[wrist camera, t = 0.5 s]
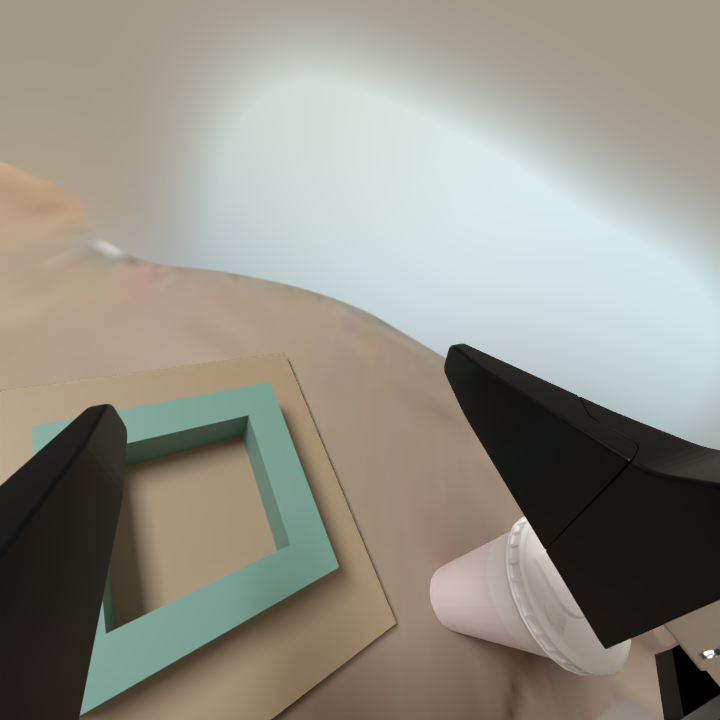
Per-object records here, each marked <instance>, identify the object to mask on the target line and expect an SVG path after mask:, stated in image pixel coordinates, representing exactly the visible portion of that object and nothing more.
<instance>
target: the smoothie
mask: <svg viewBox="0 0 720 720" xmlns="http://www.w3.org/2000/svg"><path fill="white" fill-rule="evenodd" d="M430 598H431V603H432V607H433V609H434V612H435V614H436V616H437V617H438V619H439V620H440V622H441V623H442V624H443V625H444V626H445V627H446V628H448V629H450V630H452V631H455V632H458V633H462V634H465V635H469V636H473V637H476V638H480V639H483V640H487V641H491V642H494V643H498V644H502V645H505V646H509V647H512V648H516V649H520V650H523V651H527V652H530V653H534V654H537V655H540V656H544V657H548V658H551V659H552V660H554V661H555V662H556V663H557V664H559V665H560V666H561V667H563V668H564V669H565V670H568V671H570V672H573V673H575V674H578V675H580V676H588V675H598V676H608V675H612V674H614V673H616V672H618V671H619V670H620V669H621V668H622V667H623V665H624V664H625V662H626V660H627V658H628V655H629V651H630V646H631V639H629V640H626V641H624V642H622V643H620V644H617V645H615V646H613V647H610V648H608V649H605V648H604V647H603V645H602V644H601V643H600V641H599V640H598V638H597V636H596V635H595V633H594V631H593V630H592V628H591V626H590V625H589V623H588V621H587V620H586V618H585V616H584V615H583V613H582V611H581V610H580V608H579V606H578V605H577V603H576V601H575V600H574V598H573V596H572V594H571V593H570V591H569V589H568V588H567V586H566V584H565V583H564V581H563V579H562V578H561V576H560V574H559V573H558V571H557V569H556V568H555V566H554V564H553V563H552V561H551V559H550V558H549V556H548V554H547V553H546V549H544V547H543V546H542V544H541V542H540V541H539V539H538V537H537V536H536V534H535V532H534V531H533V529H532V527H531V526H530V524H529V522H528V521H527V519H526V517H522V518H521V519H520V520H519V521H517V522H516V523H515V524H514V525H513V527H512V529H511V531H510V532H507V533H505V534H503V535H501V536H500V537H498V538H496V539H494V540H492V541H490V542H488V543H486V544H484V545H482V546H480V547H478V548H476V549H474V550H473V551H471V552H469V553H467V554H465V555H463V556H461V557H459V558H457V559H455V560H453V561H451V562H449V563H447V564H445V565H443V566H441V567H440V568H438V569H437V570H436V571H435V573H434V575H433V577H432V579H431V584H430Z"/></svg>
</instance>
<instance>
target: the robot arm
mask: <svg viewBox="0 0 720 720" xmlns="http://www.w3.org/2000/svg"><path fill="white" fill-rule="evenodd" d="M444 371H445V374H446V376H447V379H448V381H449V383H450V385H451V387H452V389H453V392H454V394H455V396H456V398H457V400H458V403H459V405H460V407H461V409H462V411H463V413H464V415H465V417H466V418H467V420H468V422H469V423H470V425H471V427H472V428H473V430H474V432H475V433H476V435H477V437H478V439H479V440H480V442H481V444H482V445H483V447H484V449H485V450H486V452H487V454H488V455H489V457H490V459H491V460H492V462H493V464H494V465H495V467H496V469H497V470H498V472H499V474H500V475H501V477H502V479H503V480H504V482H505V484H506V485H507V487H508V489H509V490H510V492H511V494H512V495H513V497H514V499H515V500H516V502H517V504H518V505H519V507H520V509H521V510H522V512H523V514H524V516H525V517H526V519H527V521H528V522H529V524H530V526H531V527H532V529H533V531H534V532H535V534H536V536H537V537H538V539H539V541H540V542H541V544H542V546H543V547H544V549H546V553H547V554H548V556H549V558H550V559H551V561H552V563H553V564H554V566H555V568H556V569H557V571H558V573H559V574H560V576H561V578H562V579H563V581H564V583H565V584H566V586H567V588H568V589H569V591H570V593H571V594H572V596H573V598H574V600H575V601H576V603H577V605H578V606H579V608H580V610H581V611H582V613H583V615H584V616H585V618H586V620H587V621H588V623H589V625H590V626H591V628H592V630H593V631H594V633H595V635H596V636H597V638H598V640H599V641H600V643H601V644H602V645H603V647H604V648H605V649H608V648H610V647H613V646H615V645H617V644H620V643H622V642H624V641H626V640H629V639H631V638H633V637H636V636H638V635H640V634H643V633H645V632H647V631H649V630H652V629H654V628H656V627H659V626H661V625H663V626H664V627H665V628H666V629H667V631H668V632H669V633H670V634H671V636H672V637H673V638H674V639H675V640H676V643H675V644H673V645H671V646H669V647H667V648H666V649H664V650H662V651H660V652H658V653H656V654H655V659H656V666H657V673H658V680H659V686H660V693H661V700H662V707H663V714H664V720H720V450H716V449H711V448H707V447H703V446H700V445H697V444H694V443H691V442H689V441H686V440H684V439H681V438H679V437H676V436H673V435H671V434H668V433H666V432H663V431H661V430H658V429H656V428H653V427H651V426H648V425H646V424H643V423H640V422H638V421H635V420H633V419H631V418H628V417H626V416H623V415H621V414H618V413H616V412H613V411H611V410H609V409H607V408H604V407H602V406H600V405H597V404H595V403H593V402H591V401H589V400H586V399H584V398H582V397H578V396H577V395H575V394H573V393H571V392H569V391H566V390H564V389H562V388H560V387H558V386H556V385H553V384H551V383H549V382H547V381H544V380H543V379H540V378H538V377H536V376H534V375H532V374H529V373H527V372H525V371H523V370H521V369H518V368H516V367H514V366H512V365H510V364H507V363H505V362H503V361H501V360H499V359H496V358H494V357H492V356H490V355H488V354H486V353H483V352H481V351H479V350H477V349H475V348H472V347H470V346H468V345H466V344H456V345H452V346H451V347H450V348H449V351H448V354H447V358H446V361H445V365H444ZM126 449H127V429H126V426H125V424H124V422H123V421H122V419H121V418H120V416H119V414H118V413H117V411H116V409H115V408H114V407H113V406H112V405H111V404H101V405H95V406H91V407H88V408H87V409H86V410H84V411H83V412H82V413H81V414H80V415H79V416H78V417H77V418H75V419H74V420H73V421H72V422H71V423H70V424H69V425H68V426H67V427H65V428H64V429H63V430H62V431H61V432H60V433H59V434H58V435H56V436H55V437H54V438H53V439H52V440H51V441H50V442H49V443H47V444H46V445H45V446H44V447H43V448H42V449H41V450H40V451H38V452H37V453H36V454H35V455H34V456H33V457H32V458H31V459H29V460H28V461H27V462H26V463H25V464H24V465H23V466H22V467H21V468H19V469H18V470H17V471H16V472H15V473H14V474H13V475H12V476H10V477H9V478H8V479H7V480H6V481H5V482H4V483H3V484H1V485H0V720H79V717H80V712H81V707H82V702H83V697H84V692H85V687H86V682H87V677H88V672H89V667H90V662H91V657H92V651H93V646H94V641H95V636H96V631H97V626H98V621H99V616H100V611H101V606H102V601H103V596H104V591H105V586H106V581H107V576H108V571H109V566H110V560H111V555H112V550H113V545H114V540H115V535H116V530H117V525H118V520H119V515H120V510H121V505H122V499H123V493H124V482H125V465H126Z"/></svg>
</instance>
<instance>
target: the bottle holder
mask: <svg viewBox="0 0 720 720" xmlns="http://www.w3.org/2000/svg"><path fill="white" fill-rule="evenodd" d="M101 404H111V405H112V406H113V407H114V408H115V409H116V411H117V413H118V414H119V416H120V418H121V419H122V421H123V422H124V424H125V426H126V429H127V449H126V465H125V482H124V493H123V499H122V505H121V510H120V515H119V520H118V525H117V530H116V535H115V540H114V545H113V550H112V555H111V560H110V566H109V571H108V576H107V581H106V586H105V591H104V596H103V601H102V606H101V611H100V616H99V621H98V626H97V631H96V636H95V641H94V646H93V651H92V657H91V662H90V667H89V672H88V677H87V682H86V687H85V692H84V697H83V702H82V707H81V712H80V717H79V720H271V719H273V718H274V717H275V716H277V715H278V714H279V713H280V712H282V711H283V710H284V709H286V708H287V707H288V706H290V705H291V704H292V703H293V702H295V701H296V700H297V699H299V698H300V697H301V696H302V695H304V694H305V693H306V692H308V691H309V690H310V689H312V688H313V687H314V686H315V685H317V684H318V683H319V682H321V681H322V680H323V679H325V678H326V677H327V676H328V675H330V674H331V673H332V672H334V671H335V670H336V669H337V668H339V667H340V666H341V665H343V664H344V663H345V662H347V661H348V660H349V659H350V658H352V657H353V656H354V655H356V654H357V653H358V652H360V651H361V650H362V649H363V648H365V647H366V646H367V645H369V644H370V643H371V642H373V641H374V640H375V639H376V638H378V637H379V636H380V635H382V634H383V633H384V632H385V631H387V630H388V629H389V628H391V627H392V626H393V625H395V624H396V621H395V619H394V616H393V614H392V611H391V609H390V606H389V604H388V602H387V599H386V597H385V594H384V592H383V590H382V587H381V585H380V582H379V580H378V577H377V575H376V573H375V570H374V568H373V565H372V563H371V560H370V558H369V556H368V553H367V551H366V548H365V546H364V543H363V541H362V539H361V536H360V534H359V531H358V529H357V526H356V524H355V522H354V519H353V517H352V514H351V512H350V509H349V507H348V505H347V502H346V500H345V497H344V495H343V493H342V490H341V488H340V485H339V483H338V480H337V478H336V476H335V473H334V471H333V468H332V466H331V463H330V461H329V459H328V456H327V454H326V451H325V449H324V446H323V444H322V442H321V439H320V437H319V434H318V432H317V429H316V427H315V425H314V422H313V420H312V417H311V415H310V412H309V410H308V408H307V405H306V403H305V400H304V398H303V395H302V393H301V391H300V388H299V386H298V383H297V381H296V379H295V376H294V374H293V371H292V369H291V366H290V364H289V362H288V359H287V357H286V354H285V352H284V353H277V354H269V355H262V356H255V357H247V358H240V359H233V360H225V361H218V362H211V363H203V364H196V365H189V366H181V367H174V368H167V369H159V370H152V371H145V372H137V373H130V374H123V375H115V376H108V377H101V378H93V379H86V380H79V381H71V382H64V383H57V384H49V385H42V386H35V387H27V388H20V389H13V390H5V391H0V485H1V484H3V483H4V482H5V481H6V480H7V479H8V478H9V477H10V476H12V475H13V474H14V473H15V472H16V471H17V470H18V469H19V468H21V467H22V466H23V465H24V464H25V463H26V462H27V461H28V460H29V459H31V458H32V457H33V456H34V455H35V454H36V453H37V452H38V451H40V450H41V449H42V448H43V447H44V446H45V445H46V444H47V443H49V442H50V441H51V440H52V439H53V438H54V437H55V436H56V435H58V434H59V433H60V432H61V431H62V430H63V429H64V428H65V427H67V426H68V425H69V424H70V423H71V422H72V421H73V420H74V419H75V418H77V417H78V416H79V415H80V414H81V413H82V412H83V411H84V410H86V409H87V408H88V407H91V406H95V405H101Z"/></svg>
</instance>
